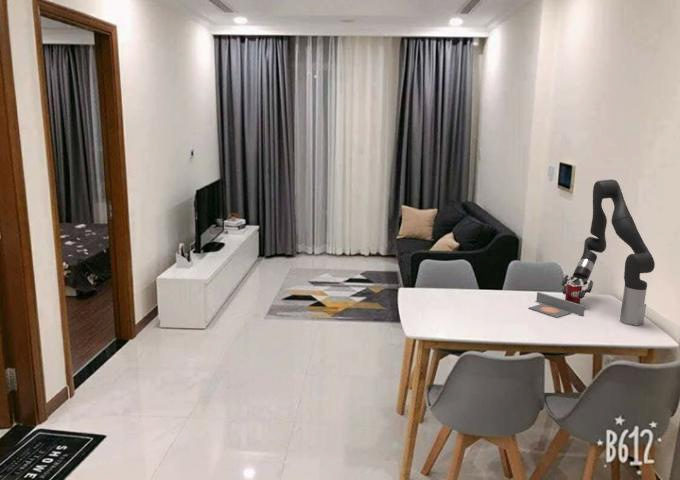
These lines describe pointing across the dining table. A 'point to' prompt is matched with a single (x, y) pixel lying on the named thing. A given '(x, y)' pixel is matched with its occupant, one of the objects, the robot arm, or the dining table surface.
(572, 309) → the low wall
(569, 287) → the soda can
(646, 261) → the robot arm
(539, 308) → the mat
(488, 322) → the dining table surface
